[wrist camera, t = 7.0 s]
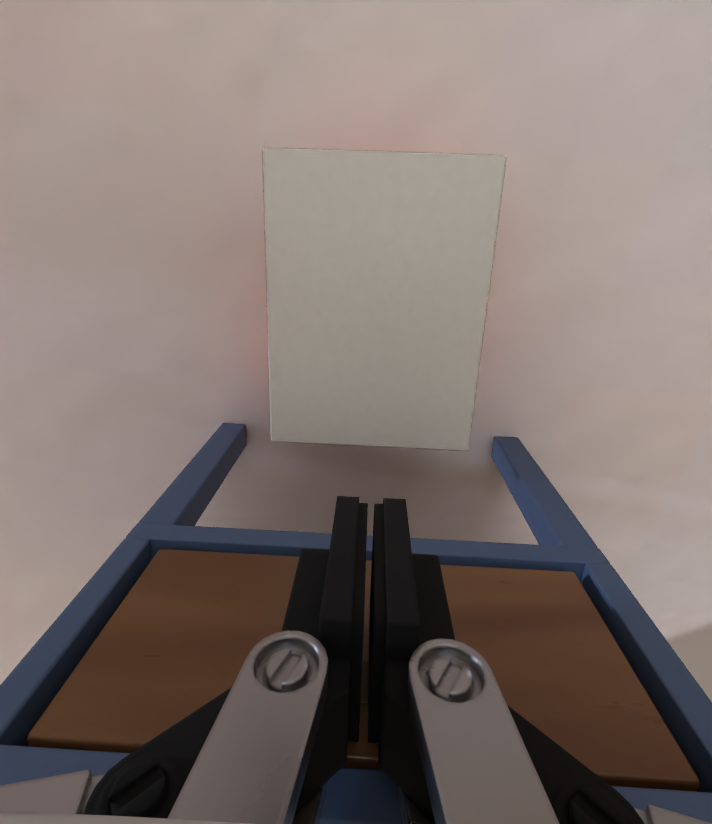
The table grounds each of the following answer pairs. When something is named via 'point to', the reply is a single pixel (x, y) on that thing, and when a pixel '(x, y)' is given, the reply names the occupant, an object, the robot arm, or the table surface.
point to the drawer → (264, 615)
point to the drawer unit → (534, 494)
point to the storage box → (377, 293)
